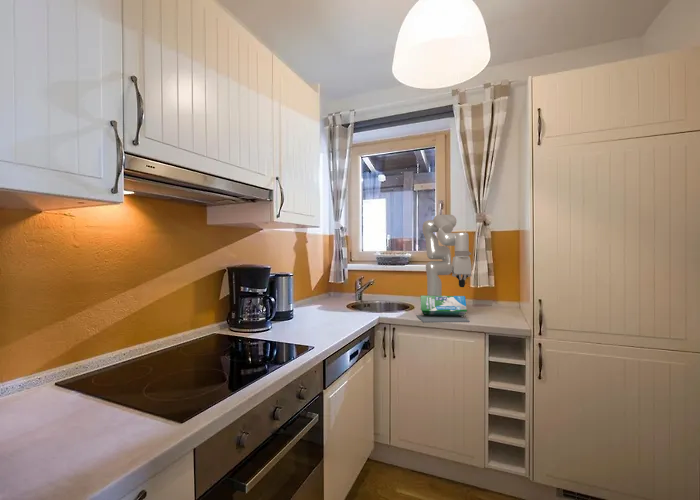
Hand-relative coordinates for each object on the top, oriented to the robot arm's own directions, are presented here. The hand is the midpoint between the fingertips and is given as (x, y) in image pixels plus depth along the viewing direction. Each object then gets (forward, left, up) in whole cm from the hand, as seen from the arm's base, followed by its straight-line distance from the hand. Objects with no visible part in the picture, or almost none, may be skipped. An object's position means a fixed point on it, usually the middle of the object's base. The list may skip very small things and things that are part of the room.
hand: (461, 286), depth 181 cm
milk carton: (-3, +3, -11) cm, 12 cm away
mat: (0, -11, -18) cm, 21 cm away
